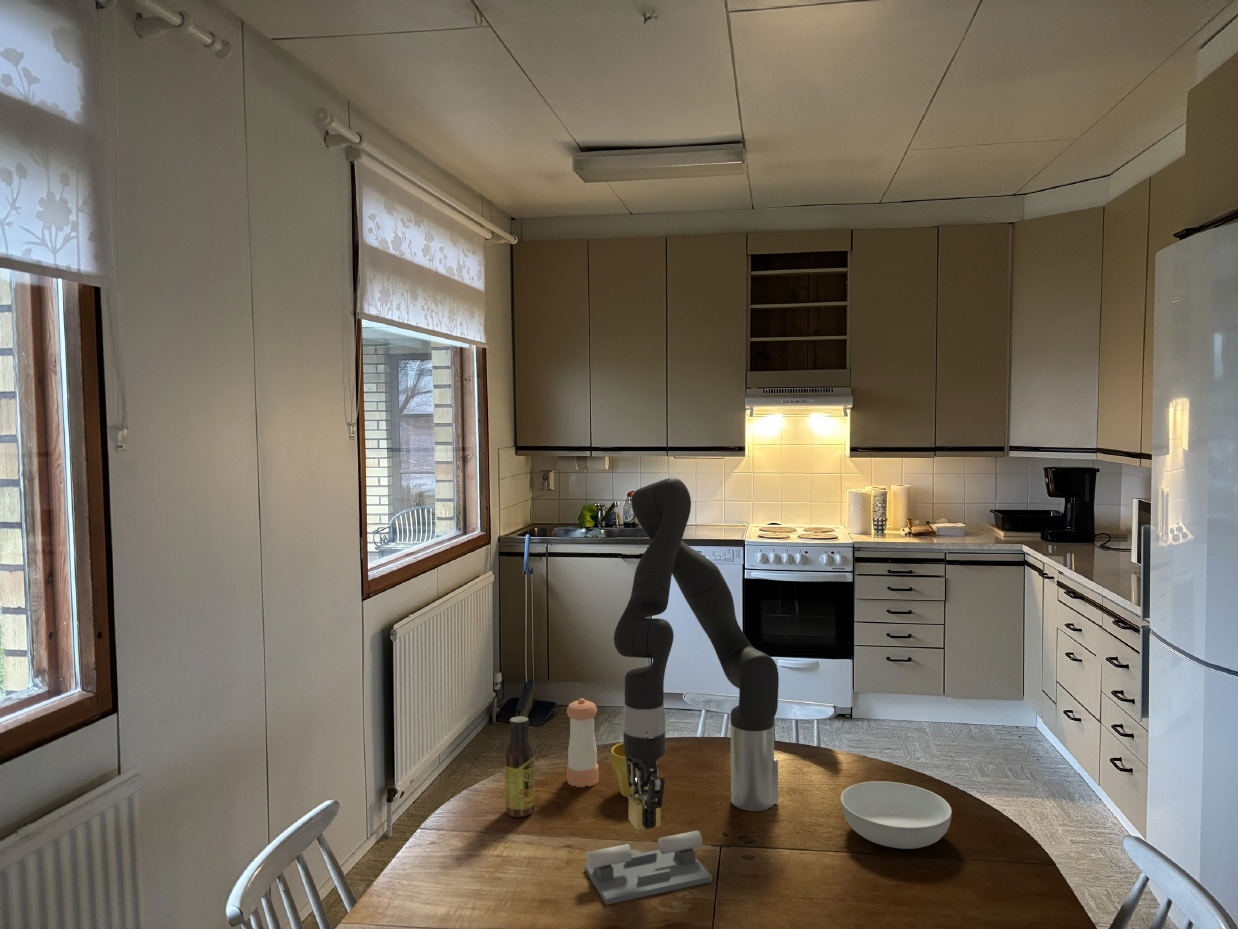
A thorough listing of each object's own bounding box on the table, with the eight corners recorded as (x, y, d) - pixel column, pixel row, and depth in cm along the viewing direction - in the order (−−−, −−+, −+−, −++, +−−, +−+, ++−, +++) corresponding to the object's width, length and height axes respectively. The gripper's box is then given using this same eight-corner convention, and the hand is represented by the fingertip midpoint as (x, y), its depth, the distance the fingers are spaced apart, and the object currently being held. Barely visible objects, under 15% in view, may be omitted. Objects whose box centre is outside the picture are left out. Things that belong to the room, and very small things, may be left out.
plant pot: (612, 782, 188) (611, 740, 188) (657, 782, 188) (656, 740, 187) (610, 802, 178) (609, 758, 177) (658, 802, 178) (657, 758, 177)
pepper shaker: (598, 787, 186) (596, 703, 185) (565, 787, 186) (564, 704, 185) (599, 773, 193) (598, 693, 192) (568, 774, 193) (567, 693, 192)
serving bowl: (968, 834, 162) (968, 799, 162) (925, 877, 147) (925, 839, 147) (869, 802, 177) (869, 771, 176) (820, 838, 161) (820, 804, 161)
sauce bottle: (529, 820, 170) (528, 726, 169) (501, 817, 172) (499, 724, 171) (539, 806, 177) (537, 715, 176) (511, 803, 178) (509, 713, 177)
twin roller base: (688, 849, 158) (687, 819, 157) (715, 880, 146) (715, 849, 146) (581, 870, 150) (580, 839, 150) (601, 905, 139) (601, 872, 139)
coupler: (628, 819, 150) (628, 791, 150) (651, 815, 151) (651, 788, 151) (637, 830, 145) (636, 802, 145) (660, 826, 147) (660, 798, 147)
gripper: (611, 717, 153) (612, 807, 154) (638, 745, 140) (638, 843, 140) (649, 712, 156) (649, 801, 156) (679, 739, 142) (679, 836, 143)
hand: (644, 820), depth 148 cm, fingers closed on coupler, 4 cm apart
